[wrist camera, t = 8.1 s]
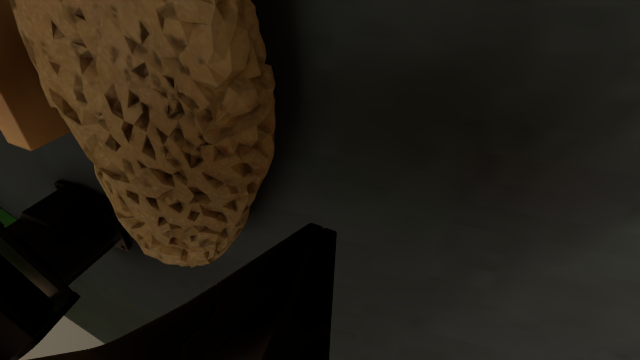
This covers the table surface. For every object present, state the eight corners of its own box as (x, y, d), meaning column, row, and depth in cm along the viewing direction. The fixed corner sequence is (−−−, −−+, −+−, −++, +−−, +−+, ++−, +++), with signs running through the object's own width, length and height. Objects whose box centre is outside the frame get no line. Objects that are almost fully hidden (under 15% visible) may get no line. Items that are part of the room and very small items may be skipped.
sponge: (273, 222, 26) (399, -84, 9) (186, 304, 21) (143, -7, 5) (150, 113, 27) (80, -299, 11) (48, 167, 23) (-314, -385, 7)
